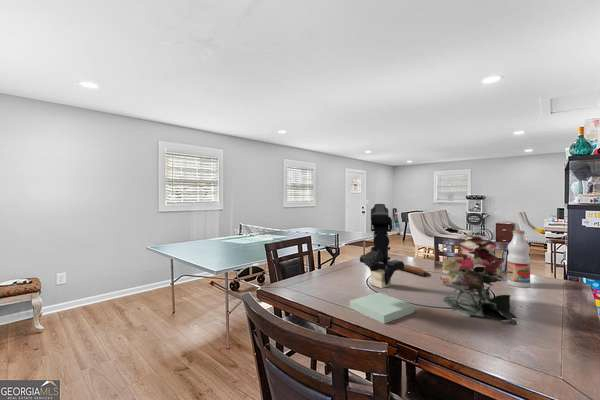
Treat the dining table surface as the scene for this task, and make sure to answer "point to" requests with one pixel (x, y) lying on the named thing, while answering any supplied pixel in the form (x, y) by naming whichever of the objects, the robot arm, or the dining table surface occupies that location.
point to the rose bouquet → (476, 279)
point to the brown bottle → (415, 270)
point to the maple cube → (379, 279)
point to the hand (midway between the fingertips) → (380, 282)
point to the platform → (382, 307)
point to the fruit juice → (518, 261)
